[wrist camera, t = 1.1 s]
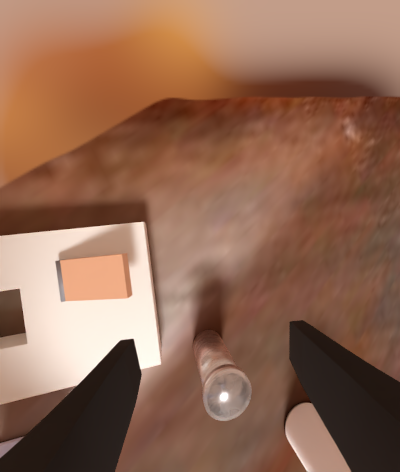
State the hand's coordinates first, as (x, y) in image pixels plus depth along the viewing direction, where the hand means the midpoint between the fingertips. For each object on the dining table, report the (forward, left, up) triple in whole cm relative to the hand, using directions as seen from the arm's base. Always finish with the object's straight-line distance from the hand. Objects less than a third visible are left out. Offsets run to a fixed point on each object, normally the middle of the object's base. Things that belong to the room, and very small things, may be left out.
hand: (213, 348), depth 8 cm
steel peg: (-10, -2, -16) cm, 19 cm away
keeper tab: (+2, +9, -11) cm, 15 cm away
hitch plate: (-1, +14, -16) cm, 21 cm away
